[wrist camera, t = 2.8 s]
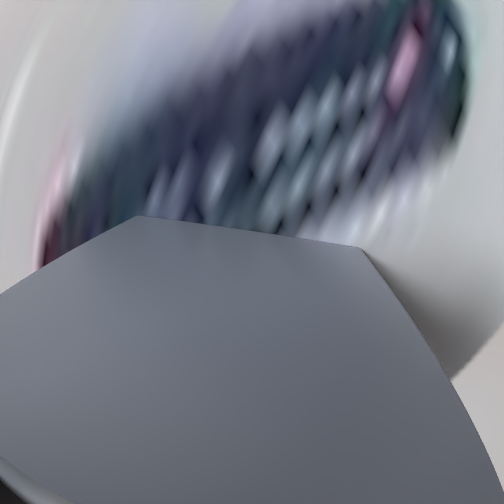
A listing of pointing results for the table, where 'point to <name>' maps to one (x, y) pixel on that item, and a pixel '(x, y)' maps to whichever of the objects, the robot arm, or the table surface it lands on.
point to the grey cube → (225, 378)
